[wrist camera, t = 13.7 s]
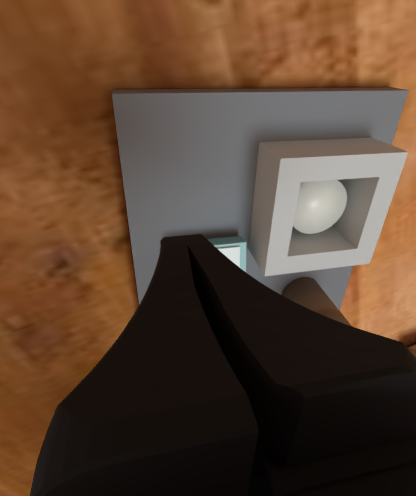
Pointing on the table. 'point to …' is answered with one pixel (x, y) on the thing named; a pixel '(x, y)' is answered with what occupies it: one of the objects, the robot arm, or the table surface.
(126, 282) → the table surface
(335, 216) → the cream smooth round part
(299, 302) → the dowel
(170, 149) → the panel
